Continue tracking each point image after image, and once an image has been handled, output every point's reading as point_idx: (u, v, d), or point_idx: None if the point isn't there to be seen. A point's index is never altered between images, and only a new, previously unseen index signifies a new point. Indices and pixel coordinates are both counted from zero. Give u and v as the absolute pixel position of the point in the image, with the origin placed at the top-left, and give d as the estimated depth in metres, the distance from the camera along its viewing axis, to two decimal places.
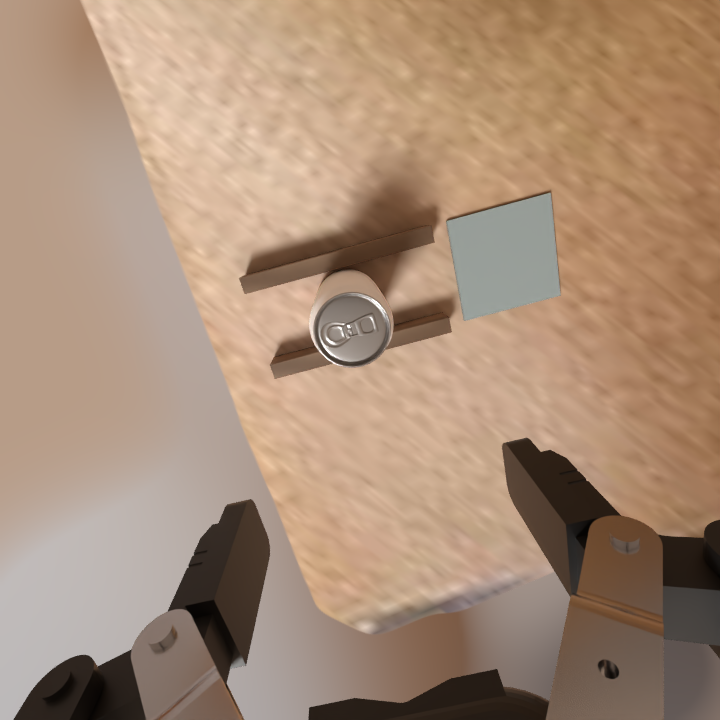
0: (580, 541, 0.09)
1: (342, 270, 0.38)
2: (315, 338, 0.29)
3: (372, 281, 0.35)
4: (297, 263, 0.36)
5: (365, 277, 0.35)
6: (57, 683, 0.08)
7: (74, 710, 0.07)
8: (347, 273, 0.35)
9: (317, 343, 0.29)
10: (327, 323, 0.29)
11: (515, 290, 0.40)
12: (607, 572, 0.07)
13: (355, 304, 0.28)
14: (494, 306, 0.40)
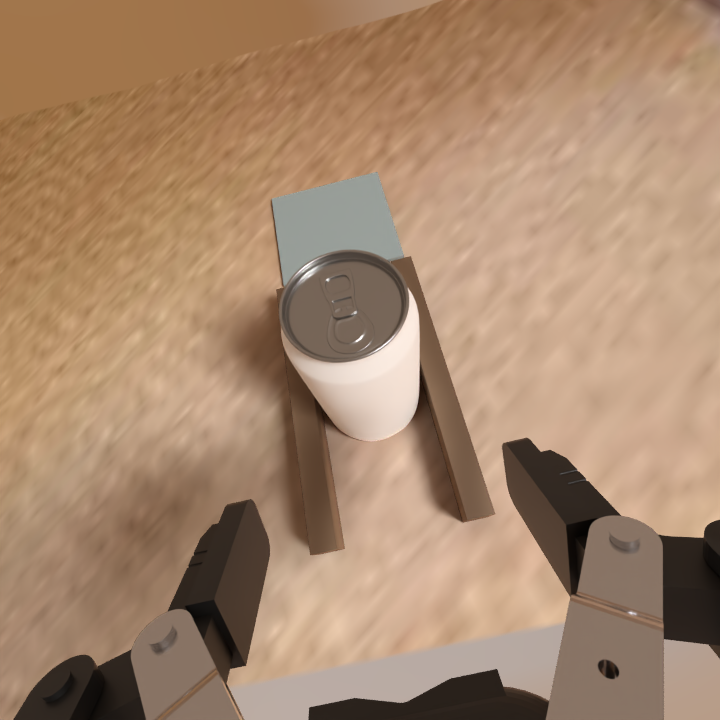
0: (580, 541, 0.09)
1: None
2: (350, 358, 0.16)
3: None
4: (299, 455, 0.24)
5: None
6: (57, 683, 0.08)
7: (74, 710, 0.07)
8: None
9: (360, 356, 0.16)
10: (328, 342, 0.16)
11: (368, 211, 0.34)
12: (607, 572, 0.07)
13: (302, 301, 0.17)
14: (386, 228, 0.33)
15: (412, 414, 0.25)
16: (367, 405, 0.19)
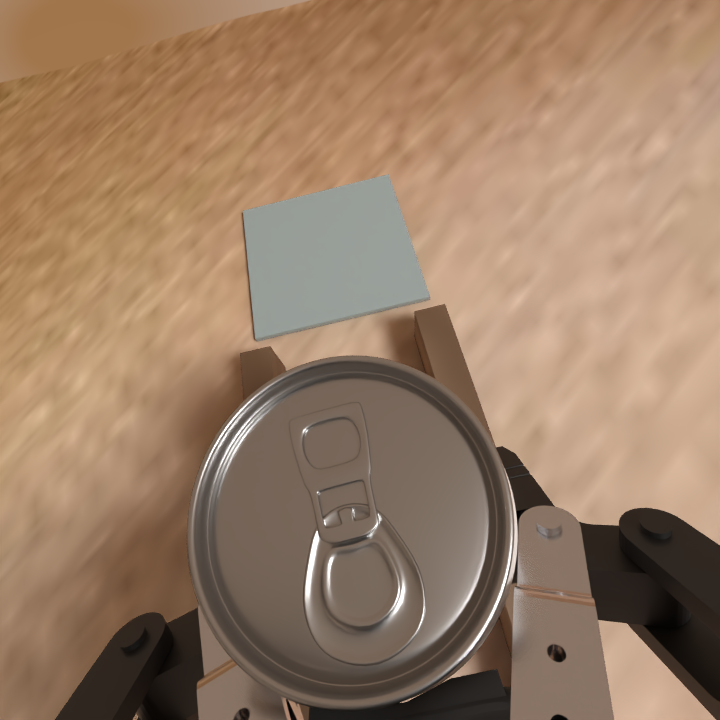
0: None
1: None
2: (366, 702, 0.06)
3: None
4: None
5: None
6: (133, 636, 0.08)
7: (153, 658, 0.08)
8: None
9: (393, 693, 0.06)
10: (307, 622, 0.06)
11: (377, 229, 0.24)
12: (528, 556, 0.08)
13: (248, 485, 0.07)
14: (403, 255, 0.23)
15: None
16: None
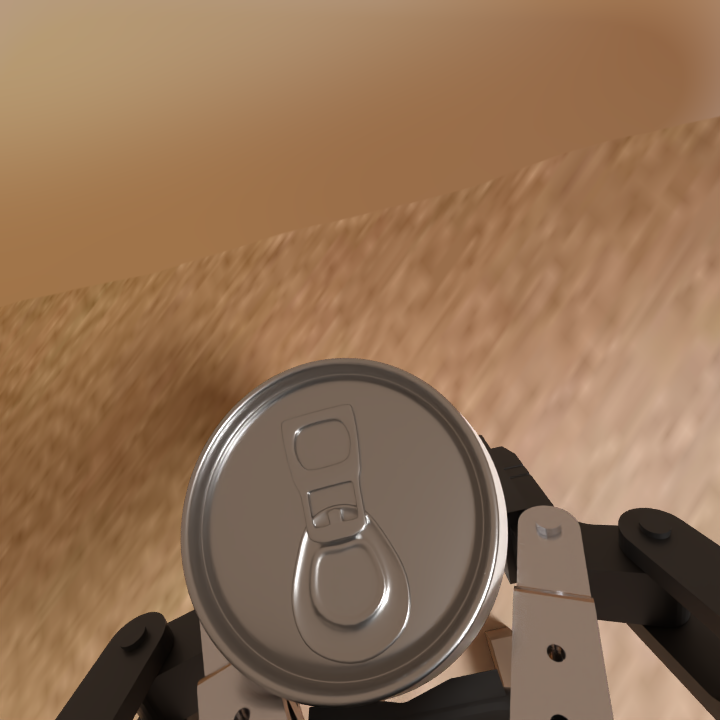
0: (513, 529, 0.09)
1: None
2: (348, 698, 0.06)
3: None
4: None
5: None
6: (133, 636, 0.08)
7: (153, 658, 0.08)
8: None
9: (375, 691, 0.06)
10: (294, 619, 0.07)
11: None
12: (527, 556, 0.08)
13: (241, 485, 0.08)
14: None
15: None
16: None
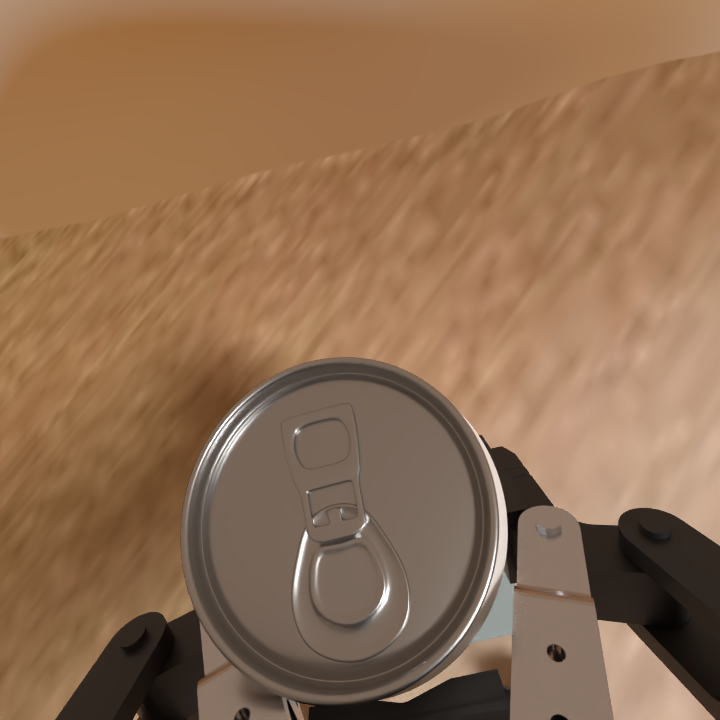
0: (513, 529, 0.09)
1: None
2: (348, 697, 0.06)
3: None
4: None
5: None
6: (134, 636, 0.08)
7: (153, 658, 0.08)
8: None
9: (374, 690, 0.06)
10: (294, 618, 0.07)
11: None
12: (527, 556, 0.08)
13: (241, 484, 0.08)
14: None
15: None
16: None
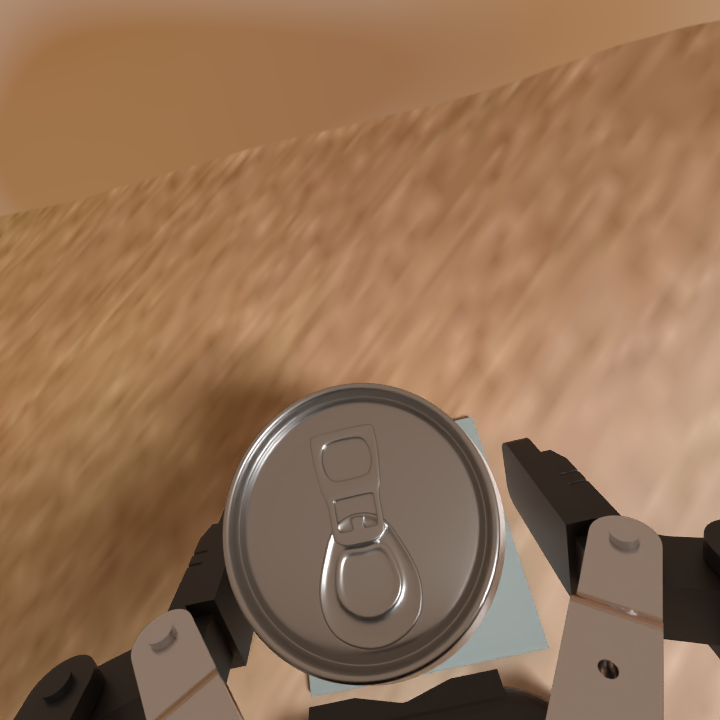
0: (580, 541, 0.09)
1: None
2: (370, 678, 0.07)
3: None
4: None
5: None
6: (57, 683, 0.08)
7: (74, 710, 0.07)
8: None
9: (392, 672, 0.07)
10: (322, 610, 0.08)
11: None
12: (607, 572, 0.07)
13: (274, 493, 0.09)
14: (504, 564, 0.18)
15: None
16: None
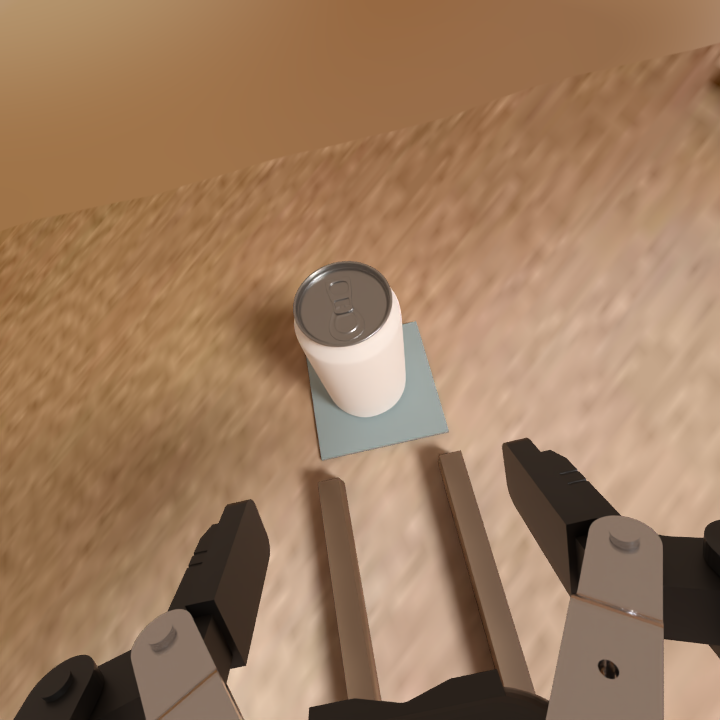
0: (580, 541, 0.09)
1: None
2: (345, 344, 0.21)
3: None
4: None
5: None
6: (57, 683, 0.08)
7: (74, 710, 0.07)
8: None
9: (353, 342, 0.21)
10: (330, 332, 0.22)
11: (408, 371, 0.33)
12: (607, 572, 0.07)
13: (311, 300, 0.23)
14: (428, 394, 0.32)
15: (399, 396, 0.31)
16: (359, 382, 0.25)
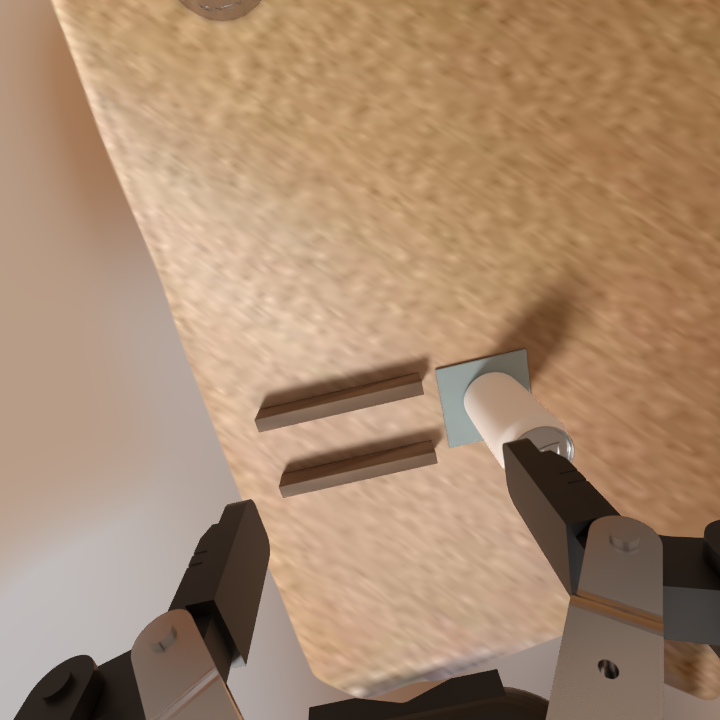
0: (580, 541, 0.09)
1: (494, 374, 0.42)
2: None
3: (529, 392, 0.40)
4: (305, 409, 0.42)
5: (526, 390, 0.39)
6: (56, 683, 0.08)
7: (74, 710, 0.07)
8: (510, 385, 0.40)
9: None
10: None
11: None
12: (607, 572, 0.07)
13: (547, 435, 0.33)
14: (476, 436, 0.46)
15: None
16: (485, 436, 0.37)
